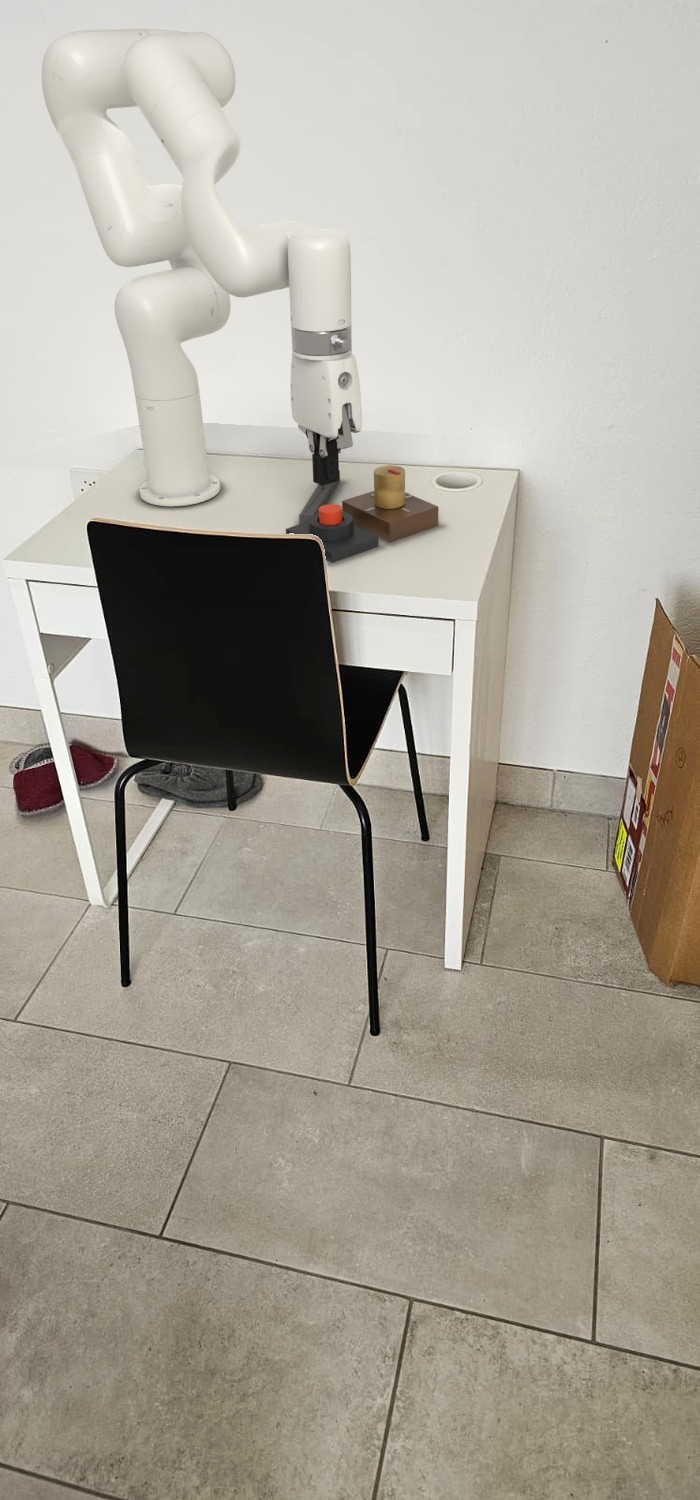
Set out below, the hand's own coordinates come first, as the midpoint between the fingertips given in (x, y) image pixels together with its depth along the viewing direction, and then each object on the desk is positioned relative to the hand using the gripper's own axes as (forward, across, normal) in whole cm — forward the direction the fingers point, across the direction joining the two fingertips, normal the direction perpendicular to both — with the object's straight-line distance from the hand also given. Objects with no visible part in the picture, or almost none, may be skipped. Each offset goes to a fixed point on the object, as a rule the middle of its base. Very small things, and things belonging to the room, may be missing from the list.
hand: (326, 481), depth 138 cm
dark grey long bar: (+9, +12, -8) cm, 17 cm away
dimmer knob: (+6, -1, -11) cm, 12 cm away
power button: (+6, -1, 0) cm, 6 cm away
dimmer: (+9, -1, -11) cm, 14 cm away
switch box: (+9, -1, 0) cm, 9 cm away
